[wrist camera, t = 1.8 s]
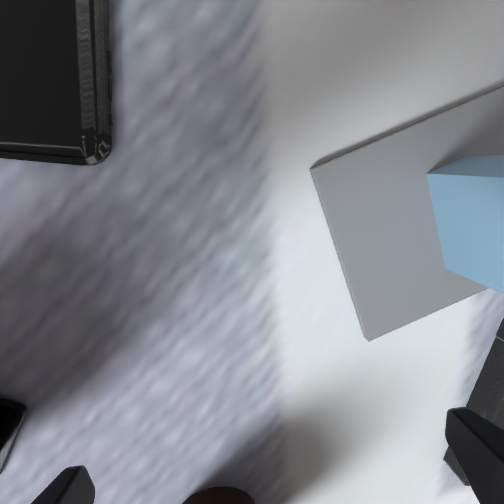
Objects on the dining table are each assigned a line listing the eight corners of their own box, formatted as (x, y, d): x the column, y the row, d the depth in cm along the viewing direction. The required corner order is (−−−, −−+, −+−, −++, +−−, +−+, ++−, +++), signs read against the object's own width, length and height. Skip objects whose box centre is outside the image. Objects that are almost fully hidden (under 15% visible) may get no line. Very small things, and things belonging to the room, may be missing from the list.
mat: (364, 336, 21) (368, 341, 20) (309, 169, 17) (313, 169, 17) (622, 221, 22) (634, 223, 21) (624, 34, 18) (638, 29, 17)
